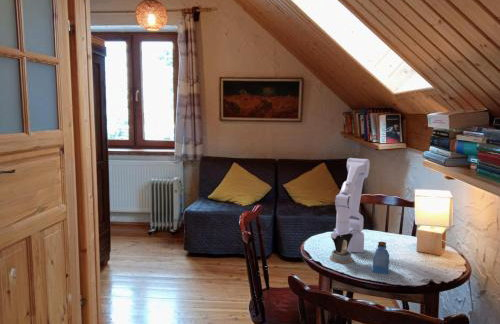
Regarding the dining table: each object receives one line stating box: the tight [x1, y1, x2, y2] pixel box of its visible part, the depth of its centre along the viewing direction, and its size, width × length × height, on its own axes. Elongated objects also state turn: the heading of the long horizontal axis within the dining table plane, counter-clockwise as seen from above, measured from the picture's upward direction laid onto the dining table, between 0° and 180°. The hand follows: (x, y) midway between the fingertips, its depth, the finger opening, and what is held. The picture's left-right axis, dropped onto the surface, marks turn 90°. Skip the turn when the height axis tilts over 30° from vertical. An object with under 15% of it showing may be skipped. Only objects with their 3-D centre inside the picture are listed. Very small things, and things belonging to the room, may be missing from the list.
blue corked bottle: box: [372, 241, 390, 275], centre depth 169 cm, size 6×6×12 cm
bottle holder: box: [329, 249, 354, 264], centre depth 182 cm, size 10×10×3 cm
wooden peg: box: [336, 240, 347, 255], centre depth 182 cm, size 4×4×6 cm
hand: (341, 250), depth 182 cm, fingers closed on wooden peg, 4 cm apart
